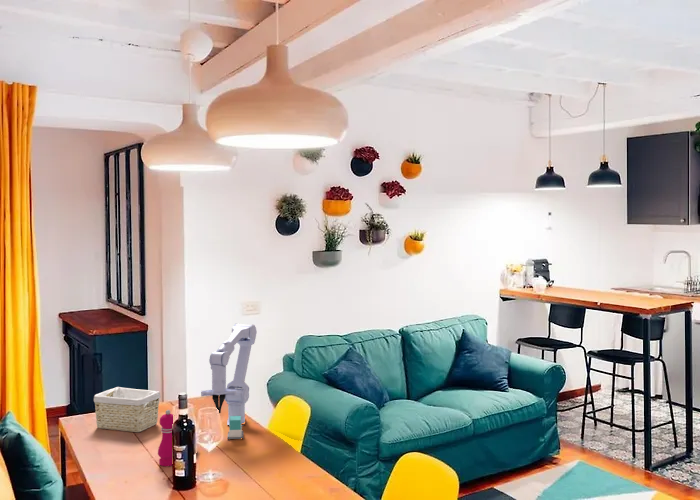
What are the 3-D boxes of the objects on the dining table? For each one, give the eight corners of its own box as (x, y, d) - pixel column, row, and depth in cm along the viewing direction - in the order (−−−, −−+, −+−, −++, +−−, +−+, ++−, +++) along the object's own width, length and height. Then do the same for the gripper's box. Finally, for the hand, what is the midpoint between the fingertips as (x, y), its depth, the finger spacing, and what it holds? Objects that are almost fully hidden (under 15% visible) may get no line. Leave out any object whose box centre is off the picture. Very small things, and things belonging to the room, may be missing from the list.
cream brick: (229, 432, 276) (229, 425, 276) (241, 432, 277) (241, 425, 276) (229, 437, 270) (229, 430, 270) (241, 436, 271) (241, 429, 271)
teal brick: (230, 425, 276) (230, 416, 276) (240, 425, 276) (240, 415, 276) (229, 430, 270) (229, 420, 270) (240, 429, 270) (240, 420, 270)
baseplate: (228, 434, 276) (228, 431, 276) (243, 434, 277) (243, 430, 277) (227, 440, 269) (227, 437, 269) (243, 439, 270) (243, 436, 270)
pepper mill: (153, 464, 242) (153, 410, 241) (167, 458, 248) (167, 406, 247) (168, 468, 238) (168, 413, 237) (182, 462, 245) (182, 408, 244)
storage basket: (92, 428, 283) (91, 394, 282) (116, 418, 298) (116, 385, 297) (139, 434, 275) (138, 400, 274) (161, 423, 290) (161, 390, 290)
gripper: (200, 383, 270) (200, 415, 271) (236, 382, 272) (236, 414, 273) (201, 379, 277) (201, 410, 278) (236, 378, 279) (236, 409, 280)
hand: (218, 412), depth 276 cm, fingers closed
